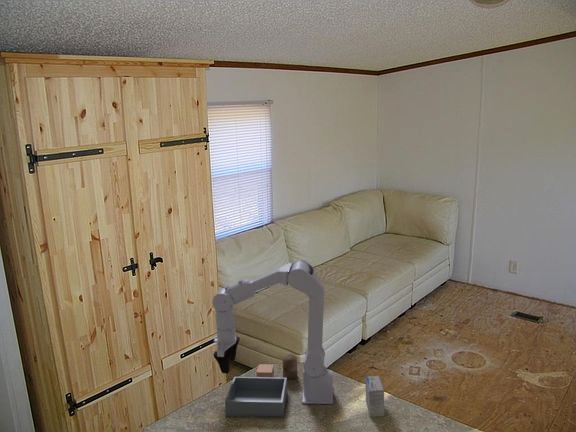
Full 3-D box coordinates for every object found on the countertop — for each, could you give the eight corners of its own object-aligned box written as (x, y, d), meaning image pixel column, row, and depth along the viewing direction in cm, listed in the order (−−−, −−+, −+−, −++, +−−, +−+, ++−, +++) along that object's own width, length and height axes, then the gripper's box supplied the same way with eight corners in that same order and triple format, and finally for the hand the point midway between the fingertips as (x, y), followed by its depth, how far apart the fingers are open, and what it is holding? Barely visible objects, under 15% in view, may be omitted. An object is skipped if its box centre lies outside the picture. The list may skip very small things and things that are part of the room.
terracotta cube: (274, 377, 157) (273, 364, 156) (272, 386, 152) (271, 372, 151) (259, 377, 157) (258, 364, 156) (257, 385, 152) (256, 372, 151)
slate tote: (287, 391, 148) (286, 377, 147) (283, 417, 136) (282, 402, 135) (235, 390, 150) (234, 376, 149) (226, 416, 137) (224, 401, 136)
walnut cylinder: (298, 372, 159) (297, 354, 158) (297, 380, 154) (296, 361, 153) (283, 372, 160) (283, 354, 158) (282, 380, 155) (281, 361, 153)
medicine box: (384, 417, 134) (384, 390, 132) (369, 417, 134) (369, 390, 132) (379, 400, 142) (379, 375, 140) (365, 401, 142) (365, 375, 140)
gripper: (219, 316, 151) (222, 354, 154) (206, 337, 137) (209, 378, 140) (240, 317, 150) (243, 355, 153) (228, 337, 136) (231, 379, 139)
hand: (228, 366), depth 146 cm, fingers open, 7 cm apart
